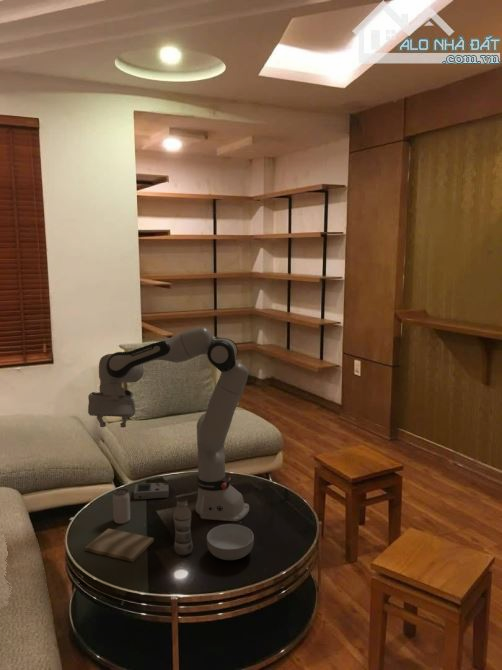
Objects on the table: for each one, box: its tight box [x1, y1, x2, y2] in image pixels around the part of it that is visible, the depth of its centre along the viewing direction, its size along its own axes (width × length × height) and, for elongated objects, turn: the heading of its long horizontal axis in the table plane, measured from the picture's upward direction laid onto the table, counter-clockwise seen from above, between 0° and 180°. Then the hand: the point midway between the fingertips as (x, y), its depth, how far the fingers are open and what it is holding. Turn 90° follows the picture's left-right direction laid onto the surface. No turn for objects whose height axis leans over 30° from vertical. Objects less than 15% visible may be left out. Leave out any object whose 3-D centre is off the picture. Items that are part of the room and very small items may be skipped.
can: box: [112, 488, 131, 525], centre depth 209 cm, size 6×6×12 cm
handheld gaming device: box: [133, 482, 170, 500], centre depth 232 cm, size 9×15×4 cm, turn 97°
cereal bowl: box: [206, 523, 255, 561], centre depth 185 cm, size 17×17×7 cm
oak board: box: [84, 528, 155, 562], centre depth 192 cm, size 20×14×1 cm
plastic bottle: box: [172, 497, 194, 556], centre depth 185 cm, size 6×7×20 cm
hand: (113, 427), depth 209 cm, fingers open, 8 cm apart
